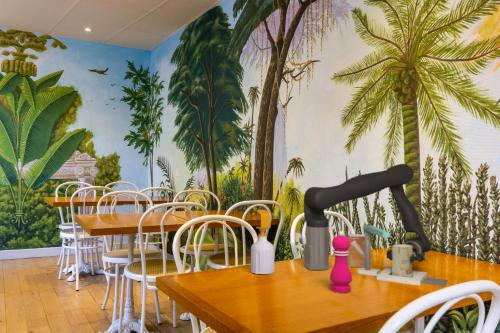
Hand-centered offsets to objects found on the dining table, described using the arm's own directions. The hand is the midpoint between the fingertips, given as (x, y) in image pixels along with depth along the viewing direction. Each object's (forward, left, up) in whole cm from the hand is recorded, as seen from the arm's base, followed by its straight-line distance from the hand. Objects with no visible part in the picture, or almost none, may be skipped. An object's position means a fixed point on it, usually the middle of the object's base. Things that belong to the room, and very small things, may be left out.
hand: (400, 258), depth 158 cm
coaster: (+9, -7, -8) cm, 14 cm away
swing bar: (-9, +3, +10) cm, 13 cm away
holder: (-1, +5, -8) cm, 9 cm away
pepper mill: (-28, -7, -8) cm, 30 cm away
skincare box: (+2, +2, -8) cm, 8 cm away
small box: (-4, +24, -8) cm, 25 cm away
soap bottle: (-46, +24, -8) cm, 53 cm away
